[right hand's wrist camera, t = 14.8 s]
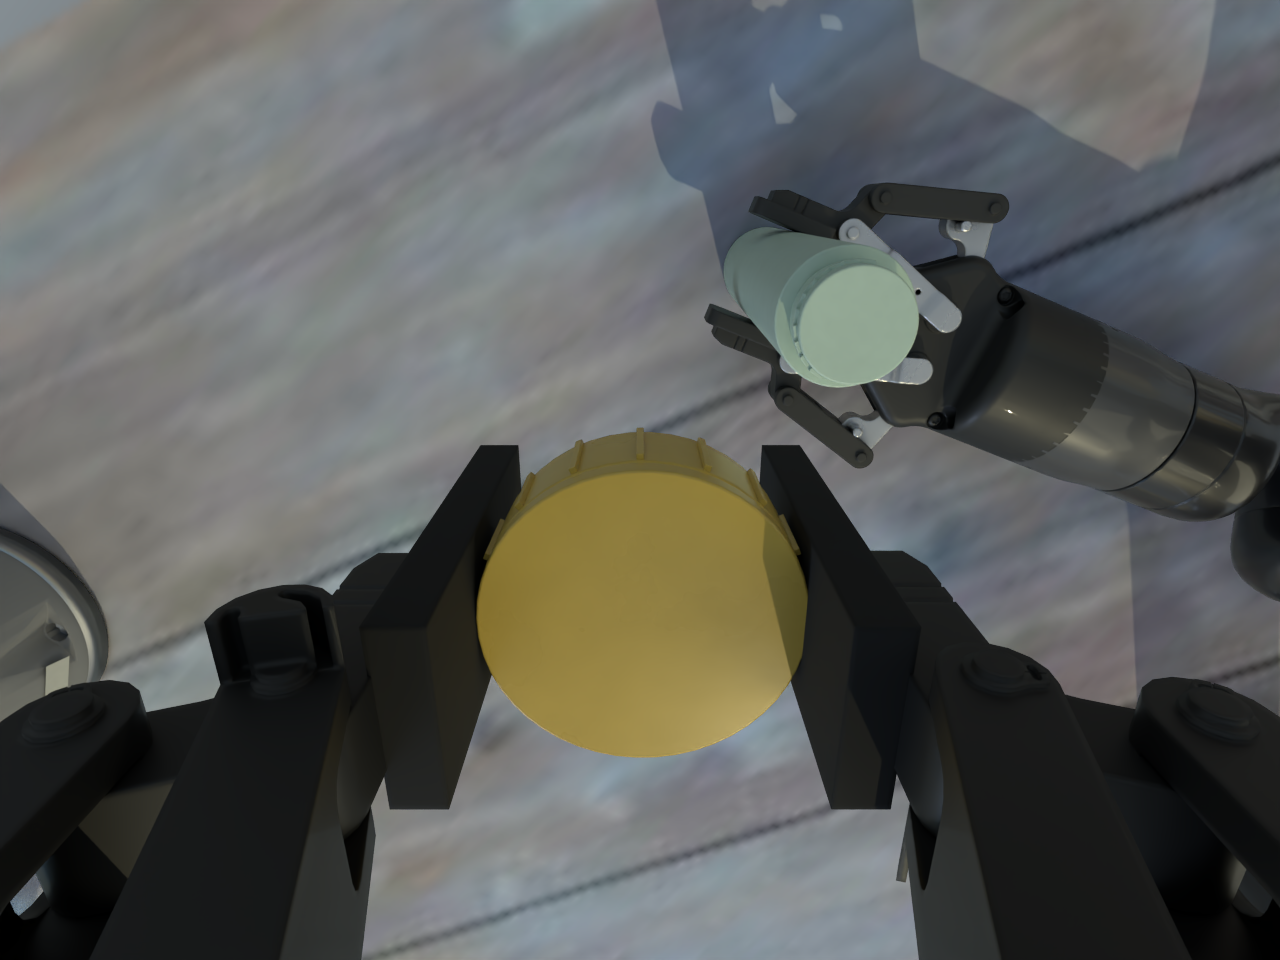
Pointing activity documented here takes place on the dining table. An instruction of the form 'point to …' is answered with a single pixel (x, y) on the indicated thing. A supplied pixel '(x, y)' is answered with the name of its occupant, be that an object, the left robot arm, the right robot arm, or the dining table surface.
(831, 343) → the pale green rounded cylinder
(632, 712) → the lid
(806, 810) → the dining table surface
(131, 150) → the dining table surface
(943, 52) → the dining table surface
